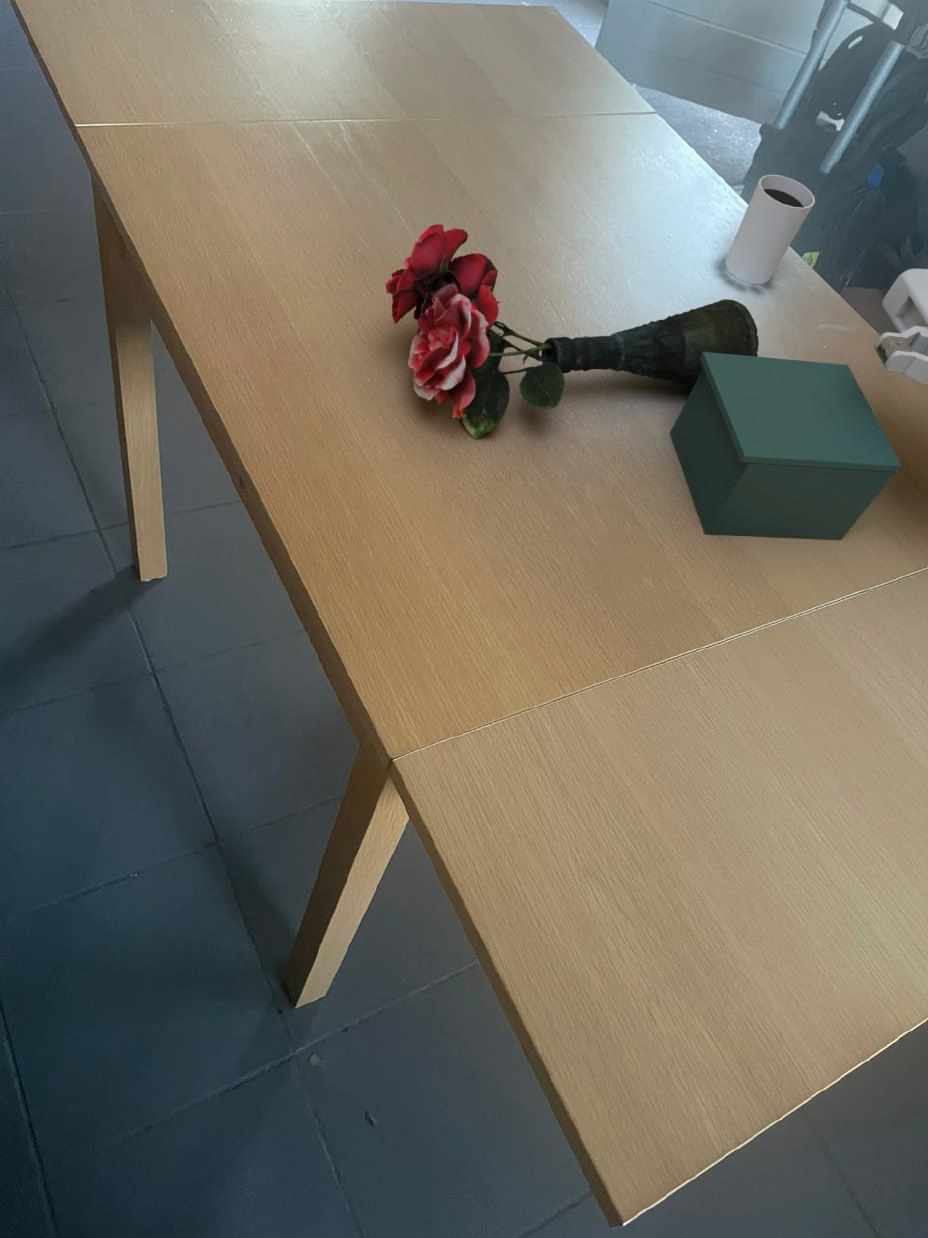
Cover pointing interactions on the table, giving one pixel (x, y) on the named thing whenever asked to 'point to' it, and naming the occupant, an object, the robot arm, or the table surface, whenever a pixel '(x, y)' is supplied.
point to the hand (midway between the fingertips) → (883, 351)
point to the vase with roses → (463, 347)
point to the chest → (763, 482)
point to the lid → (797, 413)
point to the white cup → (768, 228)
